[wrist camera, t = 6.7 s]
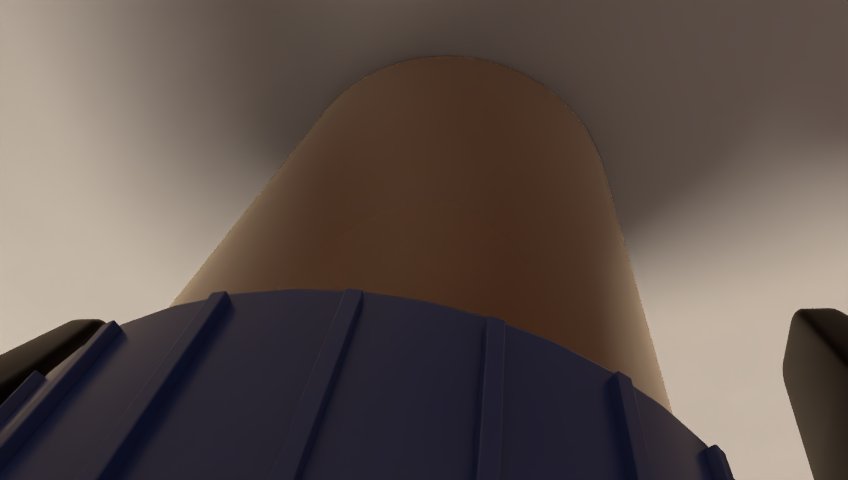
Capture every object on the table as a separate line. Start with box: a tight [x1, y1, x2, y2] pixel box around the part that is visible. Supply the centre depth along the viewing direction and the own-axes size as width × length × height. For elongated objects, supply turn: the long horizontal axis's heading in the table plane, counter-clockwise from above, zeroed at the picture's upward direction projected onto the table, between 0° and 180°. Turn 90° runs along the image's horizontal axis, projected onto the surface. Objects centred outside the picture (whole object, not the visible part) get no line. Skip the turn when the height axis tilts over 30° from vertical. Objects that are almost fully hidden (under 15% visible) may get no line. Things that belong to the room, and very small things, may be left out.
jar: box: [169, 56, 673, 415], centre depth 8 cm, size 6×6×9 cm
